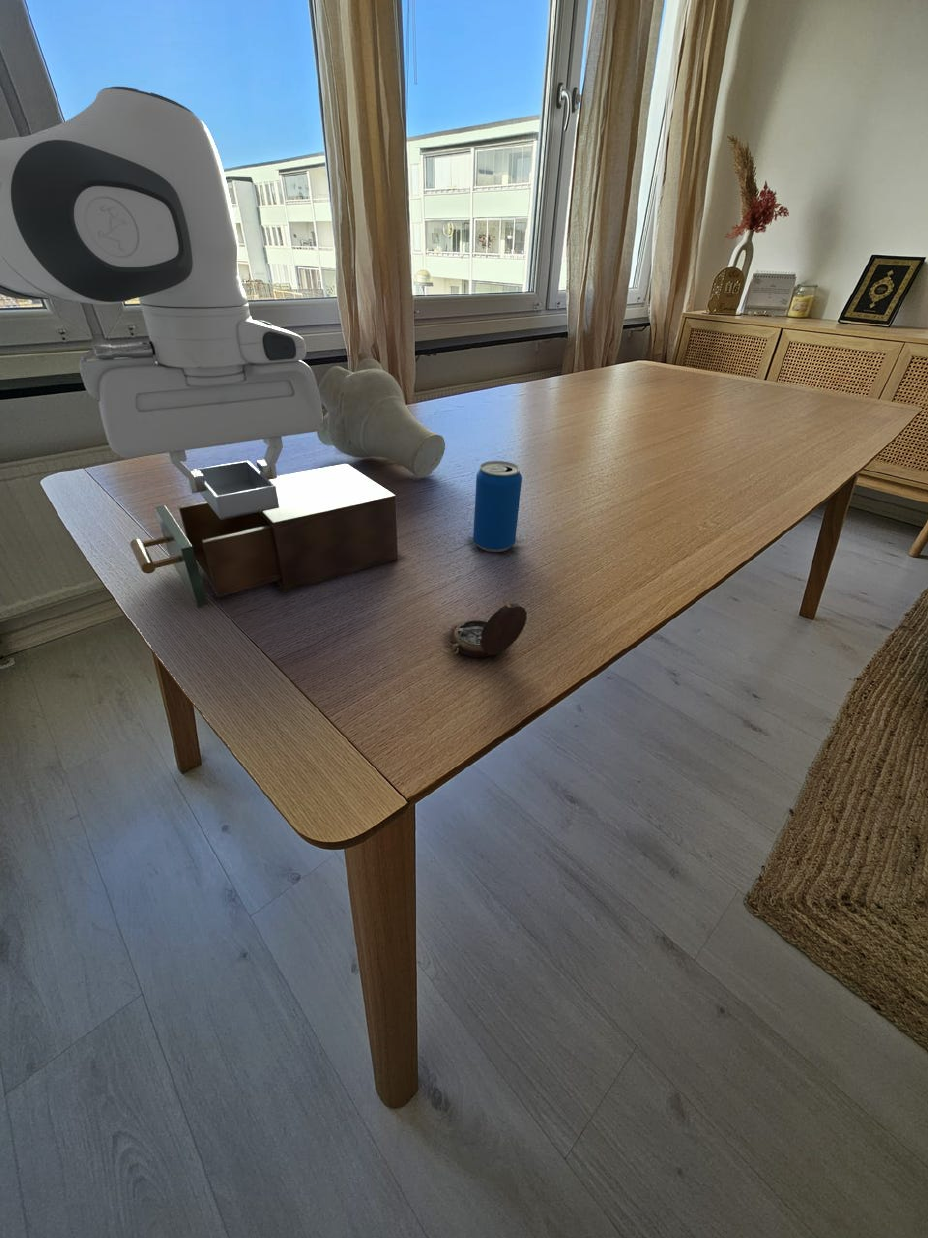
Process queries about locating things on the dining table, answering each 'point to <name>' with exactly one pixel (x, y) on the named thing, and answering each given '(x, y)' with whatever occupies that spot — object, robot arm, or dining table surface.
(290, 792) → the dining table surface
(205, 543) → the drawer
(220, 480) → the tray
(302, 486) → the cabinet
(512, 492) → the beverage can
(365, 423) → the vase
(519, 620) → the compass
